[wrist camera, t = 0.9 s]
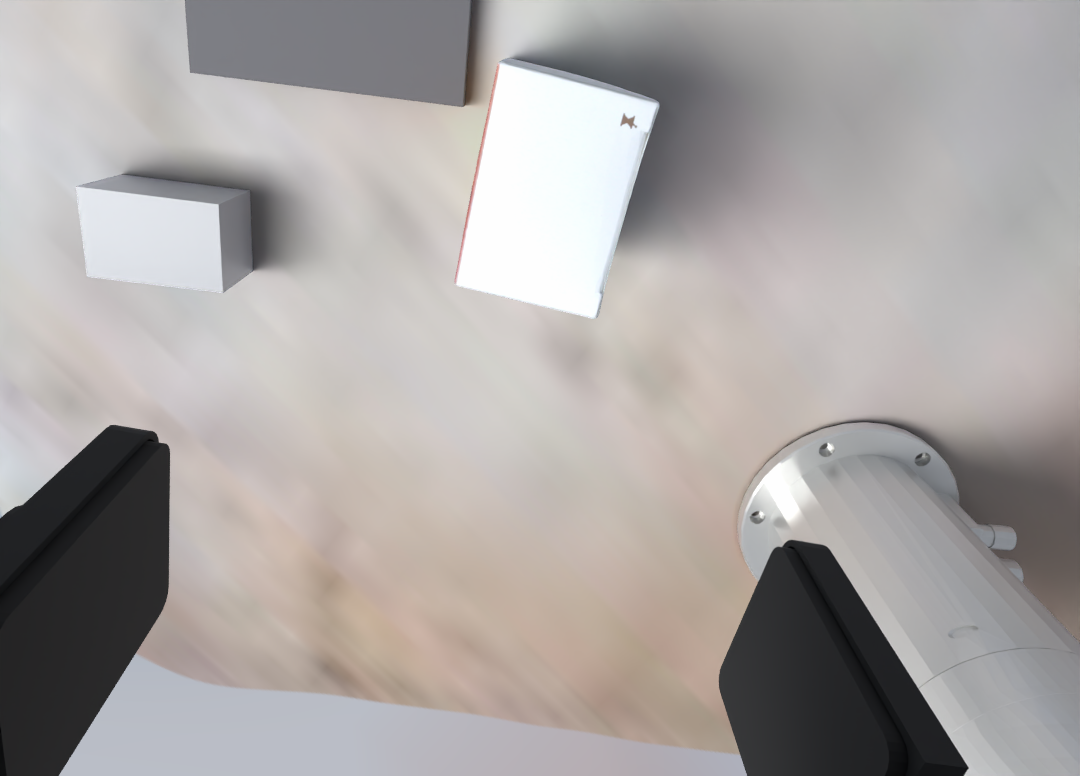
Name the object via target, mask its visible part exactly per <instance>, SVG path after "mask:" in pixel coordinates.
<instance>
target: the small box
mask: <svg viewBox="0 0 1080 776" xmlns="http://www.w3.org/2000/svg"><path fill="white" fill-rule="evenodd" d="M659 107H660V104H659V102H658V101H656V100H654V99H652V98H649V97H646V96H644V95H641V94H637V93H634V92H631V91H628V90H625V89H623V88H620V87H617V86H614V85H610V84H607V83H604V82H601V81H597V80H594V79H591V78H587V77H584V76H580V75H576V74H573V73H569V72H565V71H561V70H557V69H553V68H549V67H545V66H541V65H537V64H533V63H528V62H524V61H520V60H516V59H512V58H507V59H504V60H502V61H500V62H498V65H497V70H496V75H495V80H494V85H493V90H492V94H491V99H490V104H489V109H488V114H487V119H486V123H485V128H484V133H483V137H482V142H481V147H480V151H479V156H478V161H477V166H476V171H475V176H474V181H473V186H472V191H471V196H470V201H469V207H468V212H467V217H466V223H465V228H464V233H463V239H462V245H461V250H460V256H459V261H458V266H457V272H456V277H455V283H454V284H455V285H456V286H459V287H463V288H467V289H471V290H475V291H479V292H483V293H487V294H492V295H496V296H500V297H504V298H508V299H512V300H516V301H521V302H525V303H529V304H533V305H537V306H541V307H546V308H550V309H554V310H558V311H562V312H567V313H571V314H575V315H579V316H584V317H588V318H592V319H595V318H597V317H598V315H599V312H600V307H601V302H602V298H603V294H604V290H605V285H606V282H607V278H608V274H609V271H610V267H611V263H612V260H613V256H614V253H615V249H616V246H617V243H618V239H619V236H620V232H621V229H622V225H623V222H624V218H625V215H626V211H627V208H628V204H629V201H630V198H631V194H632V191H633V187H634V184H635V181H636V177H637V174H638V170H639V167H640V164H641V161H642V157H643V154H644V151H645V148H646V145H647V142H648V139H649V136H650V133H651V130H652V127H653V124H654V121H655V118H656V115H657V113H658V110H659Z"/></svg>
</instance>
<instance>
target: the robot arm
mask: <svg viewBox="0 0 1080 776" xmlns="http://www.w3.org/2000/svg"><path fill="white" fill-rule="evenodd" d="M169 495H170V449H169V446H168V445H167V444H164V443H159V441H158V437H157V434H156V433H155V432H153V431H147V430H141V429H135V428H129V427H124V426H118V425H110V426H109V427H107V428H106V429H105V430H104V431H103V432H102V433H100V434H99V435H98V436H97V437H96V438H95V439H94V440H93V441H92V442H91V443H90V444H88V445H87V446H86V447H85V448H84V449H83V450H82V451H81V452H80V453H79V454H78V455H77V456H75V457H74V458H73V459H72V460H71V461H70V462H69V463H68V464H67V465H66V466H65V467H64V468H62V469H61V470H60V471H59V472H58V473H57V474H56V475H55V476H54V477H53V478H52V479H51V480H49V481H48V482H47V483H46V484H45V485H44V486H43V487H42V488H41V489H40V490H39V491H38V492H36V493H35V494H34V495H33V496H32V497H31V498H30V499H29V500H28V501H27V502H26V503H25V504H23V505H21V506H17V507H15V508H13V509H12V510H10V511H9V512H7V513H6V514H5V515H4V516H3V517H1V518H0V776H59V774H60V773H61V771H62V770H63V768H64V766H65V765H66V763H67V762H68V760H69V758H70V757H71V755H72V754H73V752H74V750H75V749H76V747H77V745H78V744H79V742H80V741H81V739H82V737H83V736H84V735H85V733H86V731H87V730H88V728H89V727H90V725H91V723H92V722H93V720H94V719H95V717H96V715H97V714H98V712H99V711H100V709H101V707H102V706H103V704H104V703H105V701H106V700H107V698H108V696H109V695H110V693H111V692H112V690H113V688H114V687H115V685H116V684H117V682H118V680H119V679H120V677H121V676H122V674H123V673H124V671H125V669H126V668H127V666H128V665H129V663H130V661H131V660H132V658H133V657H134V655H135V653H136V652H137V650H138V649H139V647H140V646H141V644H142V642H143V641H144V639H145V638H146V636H147V634H148V633H149V631H150V630H151V628H152V626H153V625H154V623H155V622H156V620H157V618H158V617H159V615H160V614H161V612H162V610H163V607H164V605H165V602H166V599H167V594H168V587H169ZM737 533H738V541H739V546H740V549H741V551H742V554H743V557H744V559H745V562H746V564H747V565H748V567H749V569H750V571H751V573H752V575H753V576H754V577H755V578H756V580H757V581H758V584H757V586H756V588H755V591H754V593H753V595H752V598H751V600H750V602H749V604H748V607H747V609H746V611H745V614H744V616H743V618H742V620H741V623H740V625H739V627H738V630H737V632H736V634H735V636H734V639H733V641H732V643H731V646H730V648H729V650H728V652H727V655H726V657H725V659H724V662H723V664H722V666H721V669H720V674H719V688H720V693H721V696H722V699H723V702H724V705H725V708H726V711H727V715H728V718H729V721H730V724H731V727H732V730H733V733H734V736H735V739H736V742H737V746H738V749H739V752H740V755H741V758H742V761H743V764H744V767H745V770H746V773H747V776H1080V643H1079V642H1078V641H1077V640H1076V639H1075V637H1074V636H1073V635H1072V634H1071V633H1070V632H1069V631H1068V630H1067V629H1066V628H1065V627H1064V626H1063V625H1062V624H1061V623H1060V622H1059V621H1058V620H1057V619H1056V618H1055V617H1054V616H1053V614H1052V613H1051V612H1050V611H1049V610H1048V609H1047V608H1046V607H1045V606H1044V605H1043V604H1042V603H1041V602H1040V601H1039V600H1038V599H1037V598H1036V597H1035V596H1034V595H1033V594H1032V593H1031V591H1030V590H1029V589H1028V588H1027V587H1026V586H1025V585H1024V584H1023V573H1022V569H1021V567H1020V566H1019V564H1018V563H1017V562H1016V561H1014V560H1012V559H1004V558H998V557H997V556H996V555H995V554H994V553H993V552H992V551H991V550H990V549H994V550H1005V551H1009V550H1012V549H1013V548H1014V547H1015V546H1016V541H1017V538H1016V533H1015V531H1014V530H1013V528H1011V527H1009V526H1004V525H993V524H985V525H981V524H977V523H976V522H975V521H974V520H973V519H972V518H971V517H970V516H969V515H968V514H967V513H966V512H965V511H964V510H963V509H962V508H961V507H960V506H959V492H958V488H957V483H956V479H955V477H954V475H953V473H952V471H951V470H950V468H949V466H948V464H947V463H946V462H945V461H944V459H943V458H942V457H941V456H940V455H939V454H938V453H937V452H936V451H935V450H934V449H933V448H932V447H931V446H930V445H928V444H927V443H926V442H925V441H924V440H923V439H921V438H919V437H918V436H916V435H914V434H912V433H910V432H908V431H906V430H904V429H901V428H897V427H894V426H891V425H887V424H879V423H869V422H861V423H847V424H841V425H837V426H832V427H828V428H824V429H821V430H819V431H816V432H814V433H811V434H809V435H806V436H804V437H802V438H800V439H798V440H797V441H795V442H793V443H792V444H790V445H788V446H787V447H785V448H783V449H782V450H781V451H780V452H779V453H778V454H776V455H775V456H774V457H773V458H772V459H770V460H769V461H768V462H767V463H766V464H765V465H764V467H763V468H762V469H761V470H760V471H759V473H758V474H757V475H756V476H755V477H754V479H753V481H752V482H751V484H750V486H749V488H748V489H747V491H746V493H745V495H744V498H743V501H742V504H741V507H740V510H739V514H738V524H737Z"/></svg>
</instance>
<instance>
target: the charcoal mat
mask: <svg viewBox="0 0 1080 776" xmlns="http://www.w3.org/2000/svg"><path fill="white" fill-rule="evenodd" d="M185 8H186V22H187V36H188V50H189V64H190V73H198V74H206V75H214V76H222V77H229V78H237V79H245V80H253V81H261V82H269V83H277V84H285V85H293V86H301V87H309V88H317V89H325V90H332V91H340V92H348V93H356V94H364V95H372V96H380V97H388V98H396V99H404V100H412V101H420V102H428V103H436V104H443V105H451V106H459V107H463V106H465V92H466V78H467V64H468V50H469V36H470V22H471V8H472V0H185Z"/></svg>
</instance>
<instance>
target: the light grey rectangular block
mask: <svg viewBox="0 0 1080 776" xmlns="http://www.w3.org/2000/svg"><path fill="white" fill-rule="evenodd" d="M76 193H77V200H78V208H79V216H80V224H81V232H82V240H83V247H84V255H85V263H86V271H87V277H93V278H101V279H109V280H118V281H126V282H135V283H143V284H152V285H160V286H168V287H177V288H185V289H194V290H202V291H211V292H219V293H224V292H225V291H226V290H228V289H229V288H230V287H232V286H233V285H234V284H236V283H237V282H239V281H240V280H241V279H243V278H244V277H245V276H247V275H248V274H249V273H251V272H252V271H253V260H252V230H251V200H250V191H249V190H242V189H234V188H226V187H218V186H210V185H202V184H194V183H186V182H179V181H171V180H163V179H155V178H147V177H139V176H131V175H124V174H122V175H118V176H114V177H110V178H106V179H103V180H99V181H95V182H91V183H87V184H83V185H79V186H76Z"/></svg>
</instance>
